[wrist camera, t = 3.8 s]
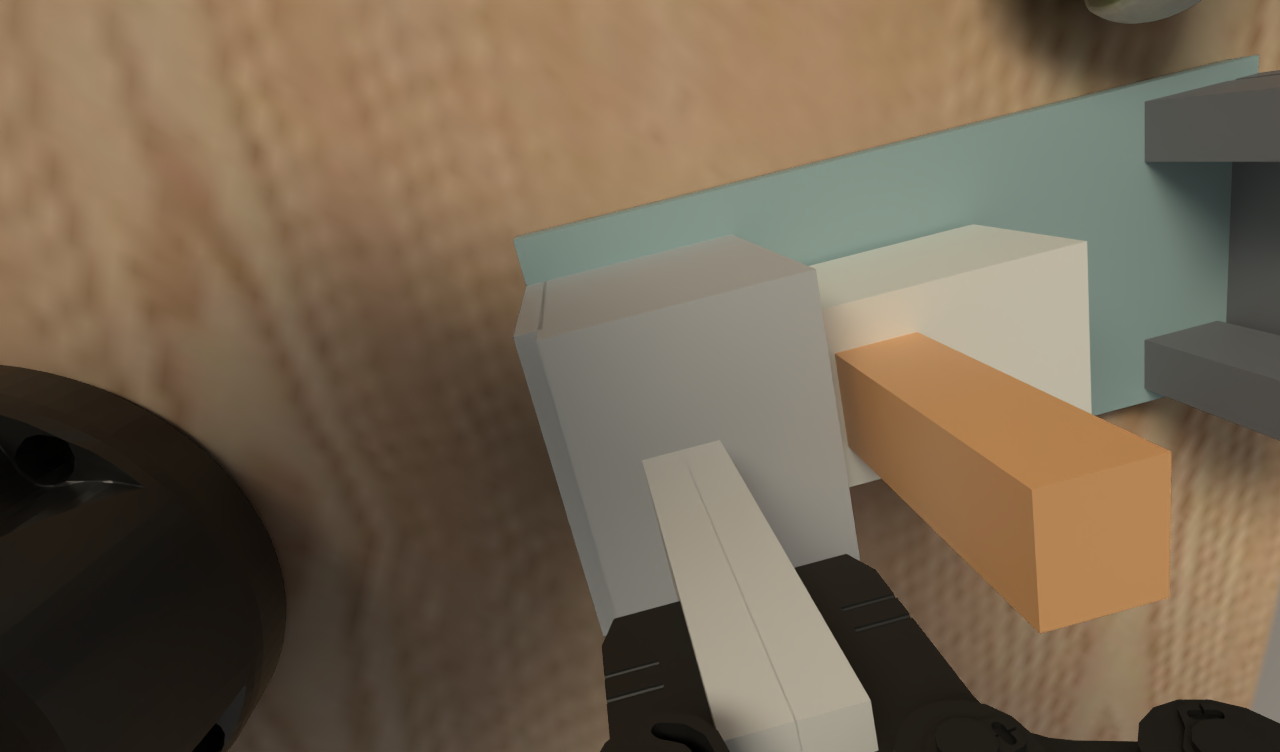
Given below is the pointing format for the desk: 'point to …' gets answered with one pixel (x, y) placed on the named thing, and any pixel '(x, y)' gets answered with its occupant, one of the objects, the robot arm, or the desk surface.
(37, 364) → the desk surface
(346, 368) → the desk surface
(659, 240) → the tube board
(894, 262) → the block with wooden peg
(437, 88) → the desk surface
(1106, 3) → the rainbow disc toy
